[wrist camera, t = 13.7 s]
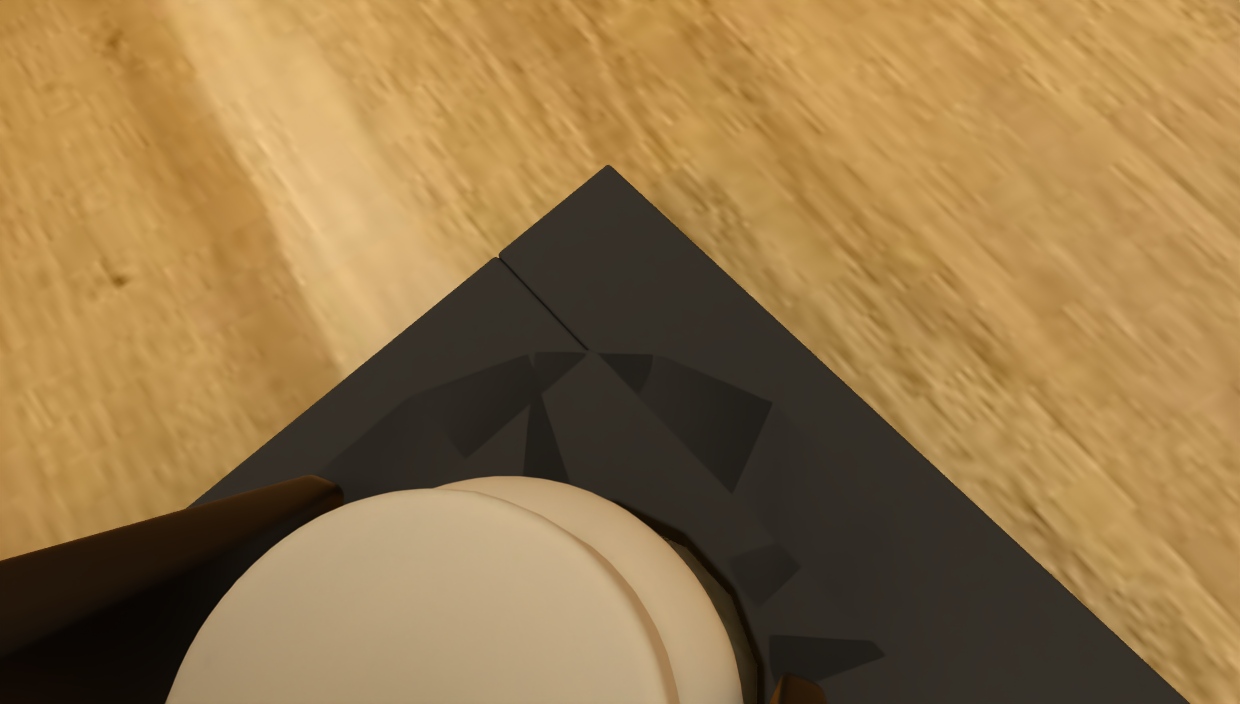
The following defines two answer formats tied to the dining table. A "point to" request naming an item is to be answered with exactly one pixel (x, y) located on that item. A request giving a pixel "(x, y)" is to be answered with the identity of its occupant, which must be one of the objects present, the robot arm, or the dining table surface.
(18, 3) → the dining table surface
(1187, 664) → the dining table surface
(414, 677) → the supplement bottle
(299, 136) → the dining table surface
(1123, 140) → the dining table surface
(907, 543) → the socket pad
